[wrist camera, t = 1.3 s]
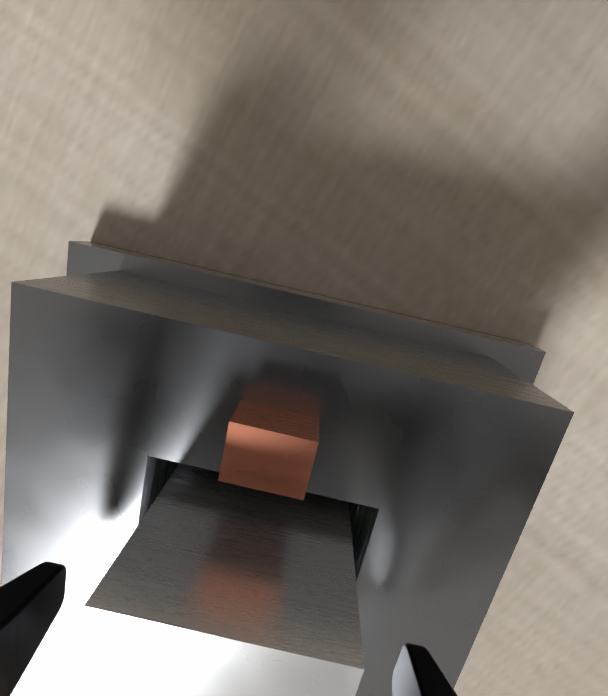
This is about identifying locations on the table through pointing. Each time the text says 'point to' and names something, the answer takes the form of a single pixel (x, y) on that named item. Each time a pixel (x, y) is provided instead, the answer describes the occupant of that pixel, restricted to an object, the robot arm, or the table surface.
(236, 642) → the column
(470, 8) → the table surface
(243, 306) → the housing
